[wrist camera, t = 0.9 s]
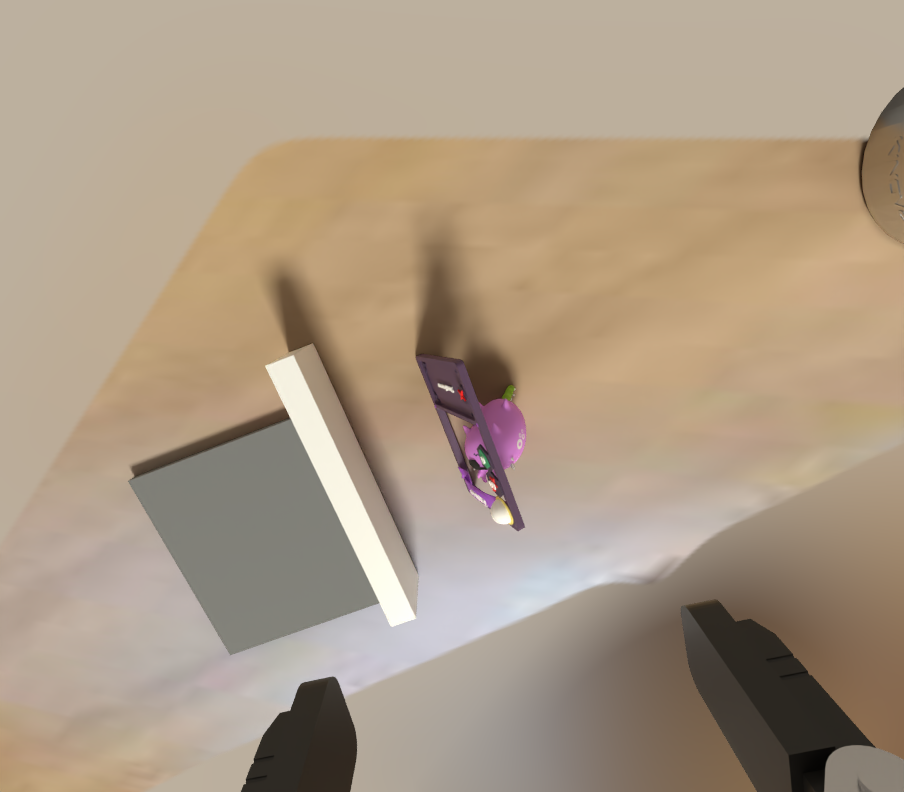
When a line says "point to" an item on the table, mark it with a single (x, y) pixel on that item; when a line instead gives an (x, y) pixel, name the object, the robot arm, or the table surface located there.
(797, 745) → the robot arm
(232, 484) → the rubber mat
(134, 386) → the table surface
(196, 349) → the table surface
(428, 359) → the purple framed toy figure
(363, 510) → the low wall
